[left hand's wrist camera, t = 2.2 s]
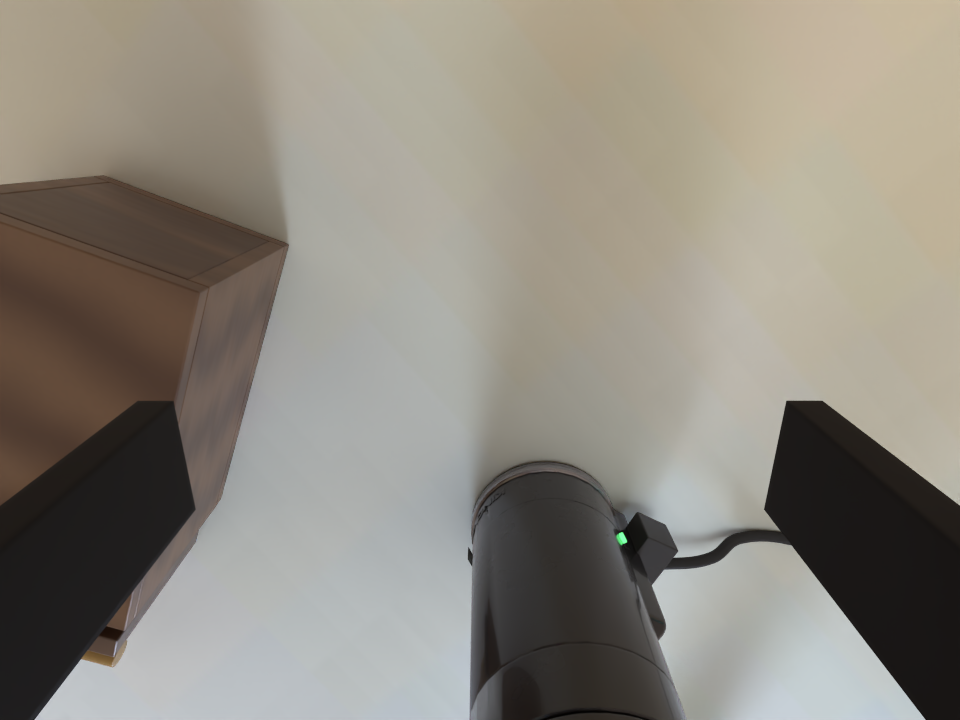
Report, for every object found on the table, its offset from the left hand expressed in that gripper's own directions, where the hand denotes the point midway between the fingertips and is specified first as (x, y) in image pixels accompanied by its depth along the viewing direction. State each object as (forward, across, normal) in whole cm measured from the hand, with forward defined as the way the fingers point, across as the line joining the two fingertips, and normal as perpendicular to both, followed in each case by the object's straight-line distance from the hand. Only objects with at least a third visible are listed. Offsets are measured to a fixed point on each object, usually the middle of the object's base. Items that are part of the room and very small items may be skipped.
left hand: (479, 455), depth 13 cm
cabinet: (+21, -18, -5) cm, 29 cm away
